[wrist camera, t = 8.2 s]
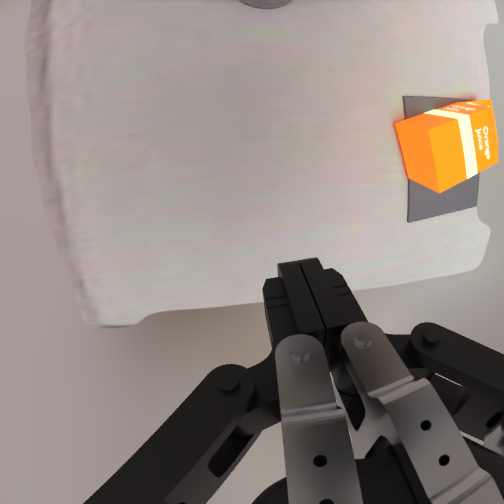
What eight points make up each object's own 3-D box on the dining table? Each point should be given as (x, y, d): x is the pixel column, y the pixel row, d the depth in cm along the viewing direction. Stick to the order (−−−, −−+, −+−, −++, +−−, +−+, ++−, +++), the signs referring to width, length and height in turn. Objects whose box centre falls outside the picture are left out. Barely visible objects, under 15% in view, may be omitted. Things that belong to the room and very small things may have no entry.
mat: (402, 96, 33) (404, 96, 32) (476, 101, 33) (478, 101, 33) (407, 221, 42) (408, 222, 42) (475, 205, 43) (476, 206, 42)
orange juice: (440, 194, 31) (514, 153, 30) (428, 129, 27) (507, 101, 25) (407, 178, 38) (483, 143, 36) (393, 122, 34) (474, 96, 32)
